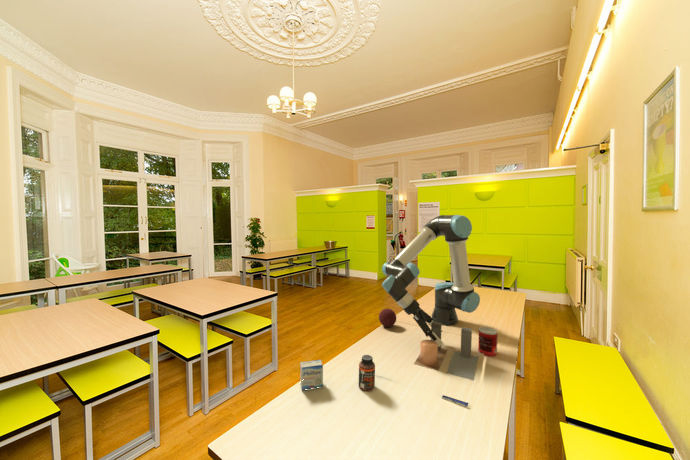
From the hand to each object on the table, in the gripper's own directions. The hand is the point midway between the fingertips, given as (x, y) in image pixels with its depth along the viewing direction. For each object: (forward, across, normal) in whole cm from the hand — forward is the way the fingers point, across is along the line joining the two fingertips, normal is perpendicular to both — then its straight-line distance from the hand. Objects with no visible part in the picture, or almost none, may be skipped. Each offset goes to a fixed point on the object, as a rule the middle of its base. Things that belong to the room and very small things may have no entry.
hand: (440, 338), depth 131 cm
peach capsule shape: (0, +14, -7) cm, 15 cm away
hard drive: (+9, +31, -1) cm, 32 cm away
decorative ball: (-15, -23, -24) cm, 37 cm away
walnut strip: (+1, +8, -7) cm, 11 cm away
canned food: (+19, -6, +10) cm, 22 cm away
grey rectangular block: (+10, +11, +2) cm, 15 cm away
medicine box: (-28, +42, -38) cm, 63 cm away
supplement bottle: (-14, +37, -24) cm, 46 cm away
